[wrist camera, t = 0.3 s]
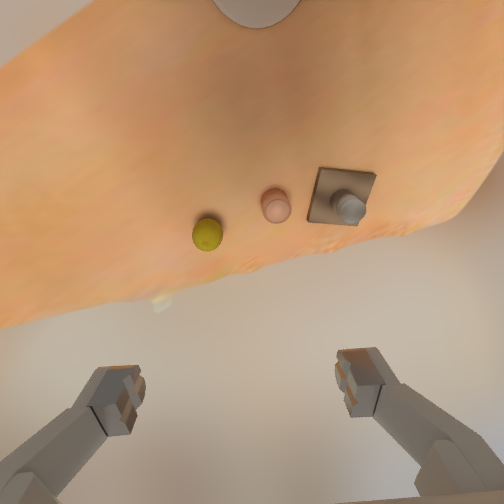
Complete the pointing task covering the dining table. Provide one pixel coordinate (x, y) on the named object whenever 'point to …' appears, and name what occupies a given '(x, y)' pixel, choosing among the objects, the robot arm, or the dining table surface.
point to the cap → (275, 206)
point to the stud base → (331, 186)
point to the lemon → (207, 234)
